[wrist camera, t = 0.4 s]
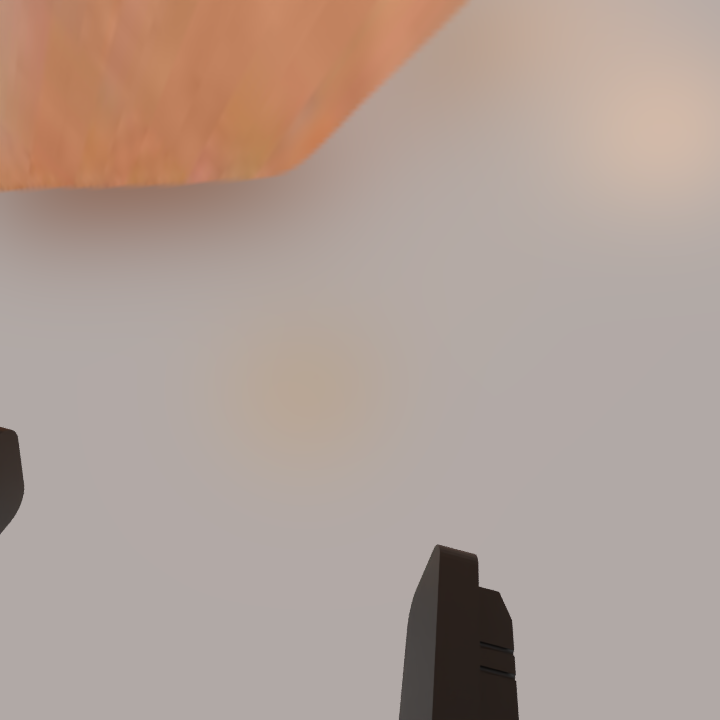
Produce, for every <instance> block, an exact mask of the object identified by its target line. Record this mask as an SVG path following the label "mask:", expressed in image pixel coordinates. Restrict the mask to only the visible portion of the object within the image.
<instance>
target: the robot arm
mask: <svg viewBox="0 0 720 720" xmlns="http://www.w3.org/2000/svg"><path fill="white" fill-rule="evenodd" d="M23 494H24V481H23V473H22V466H21V458H20V450H19V443H18V436H17V434H16V432H15V431H13V430H10V429H6V428H2V427H0V534H1V532H2V531H3V530H4V529H5V528H6V526H7V525H8V524H9V523H10V522H11V520H12V519H13V518H14V516H15V514H16V513H17V511H18V509H19V507H20V504H21V501H22V498H23ZM478 577H479V576H478V558H477V556H476V555H475V554H472V553H468V552H464V551H461V550H457V549H453V548H449V547H445V546H442V545H436V546H435V548H434V550H433V552H432V554H431V557H430V559H429V561H428V564H427V566H426V568H425V571H424V573H423V575H422V578H421V580H420V582H419V585H418V587H417V589H416V592H415V594H414V597H413V601H412V604H411V609H410V613H409V619H408V626H407V637H406V649H405V659H404V671H403V681H402V692H401V703H400V714H399V720H519V717H518V701H517V687H516V681H515V675H516V671H515V657H514V656H513V652H514V642H513V627H512V619H511V617H510V615H509V613H508V610H507V608H506V606H505V604H504V602H503V599H502V597H501V595H500V593H499V592H497V591H494V590H490V589H486V588H482V587H479V582H478V581H479V580H478V579H479V578H478Z"/></svg>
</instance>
